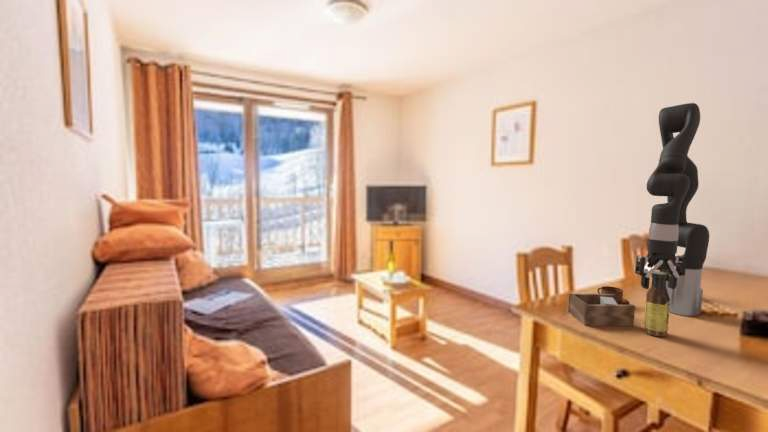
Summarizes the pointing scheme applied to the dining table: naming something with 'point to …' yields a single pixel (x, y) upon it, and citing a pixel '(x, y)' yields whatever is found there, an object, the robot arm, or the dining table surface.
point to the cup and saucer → (617, 292)
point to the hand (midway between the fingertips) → (658, 288)
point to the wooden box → (600, 311)
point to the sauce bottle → (657, 306)
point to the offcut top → (607, 301)
